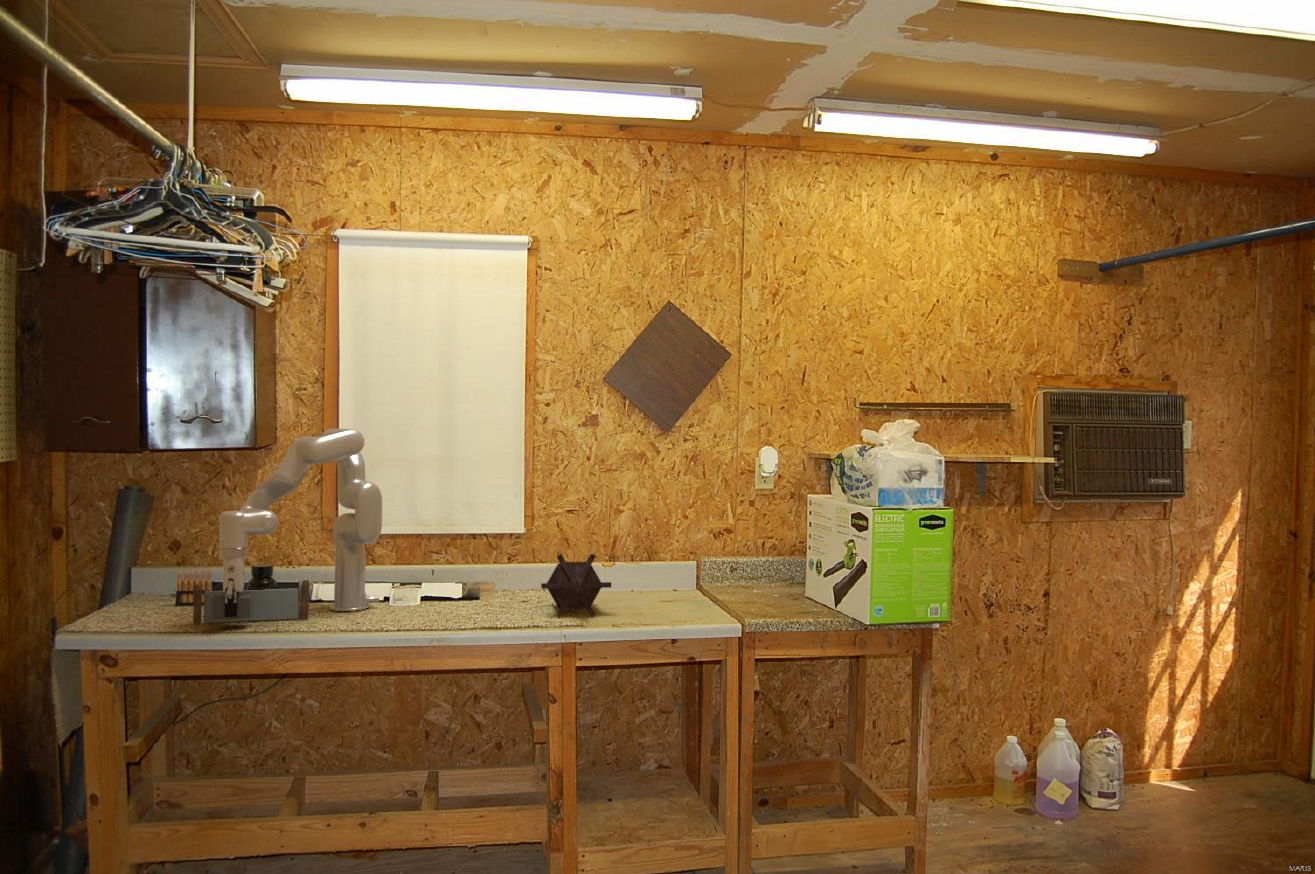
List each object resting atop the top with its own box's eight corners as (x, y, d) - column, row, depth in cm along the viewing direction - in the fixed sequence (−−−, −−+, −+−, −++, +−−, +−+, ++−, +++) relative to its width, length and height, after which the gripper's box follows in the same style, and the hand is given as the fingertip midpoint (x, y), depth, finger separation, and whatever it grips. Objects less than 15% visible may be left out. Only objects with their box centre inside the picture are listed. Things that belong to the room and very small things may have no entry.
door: (298, 617, 261) (298, 588, 261) (297, 618, 259) (298, 589, 260) (204, 621, 253) (205, 591, 253) (203, 622, 251) (204, 592, 251)
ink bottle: (277, 601, 286) (278, 566, 286) (248, 603, 282) (249, 568, 282) (273, 596, 295) (274, 562, 295) (245, 598, 290) (246, 564, 290)
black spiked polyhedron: (599, 617, 294) (613, 622, 265) (533, 613, 290) (540, 618, 261) (604, 556, 298) (618, 554, 269) (539, 551, 293) (546, 548, 265)
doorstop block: (252, 613, 251) (252, 593, 251) (249, 618, 246) (250, 597, 246) (214, 615, 248) (215, 595, 248) (211, 619, 242) (212, 599, 242)
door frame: (308, 617, 262) (309, 579, 262) (308, 619, 260) (309, 580, 260) (194, 623, 251) (195, 583, 251) (193, 625, 249) (193, 585, 249)
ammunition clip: (175, 606, 275) (175, 569, 275) (176, 605, 277) (177, 569, 277) (211, 605, 278) (211, 569, 278) (212, 604, 280) (213, 568, 280)
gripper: (244, 556, 240) (243, 619, 240) (250, 548, 256) (248, 607, 256) (215, 557, 238) (213, 621, 237) (222, 549, 254) (221, 608, 254)
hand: (232, 613), depth 247 cm, fingers closed on doorstop block, 6 cm apart
